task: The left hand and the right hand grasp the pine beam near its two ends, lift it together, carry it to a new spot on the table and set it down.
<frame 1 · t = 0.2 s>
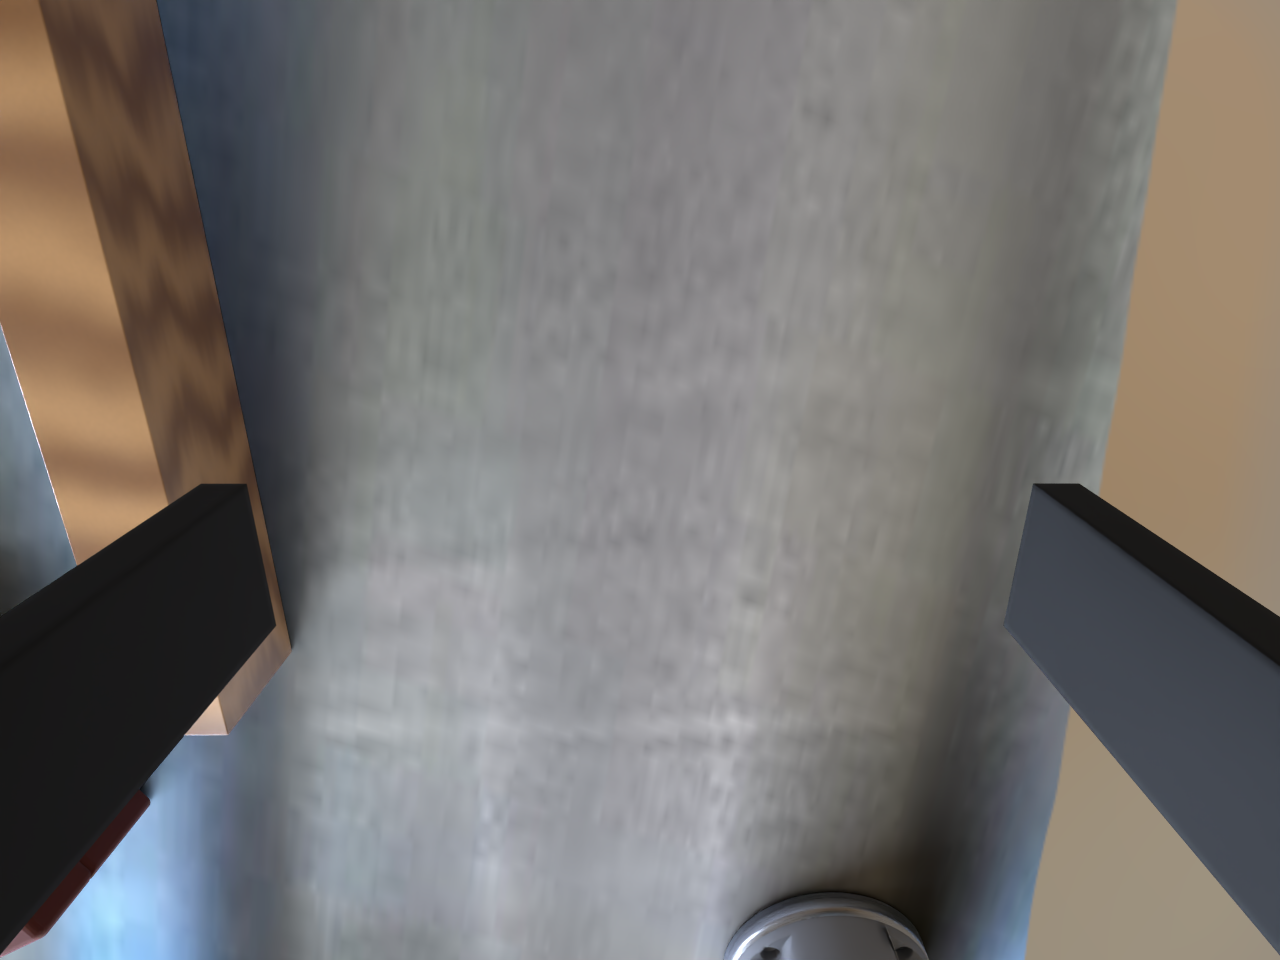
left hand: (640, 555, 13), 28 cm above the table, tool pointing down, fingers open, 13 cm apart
beam: (118, 80, 35), on the table
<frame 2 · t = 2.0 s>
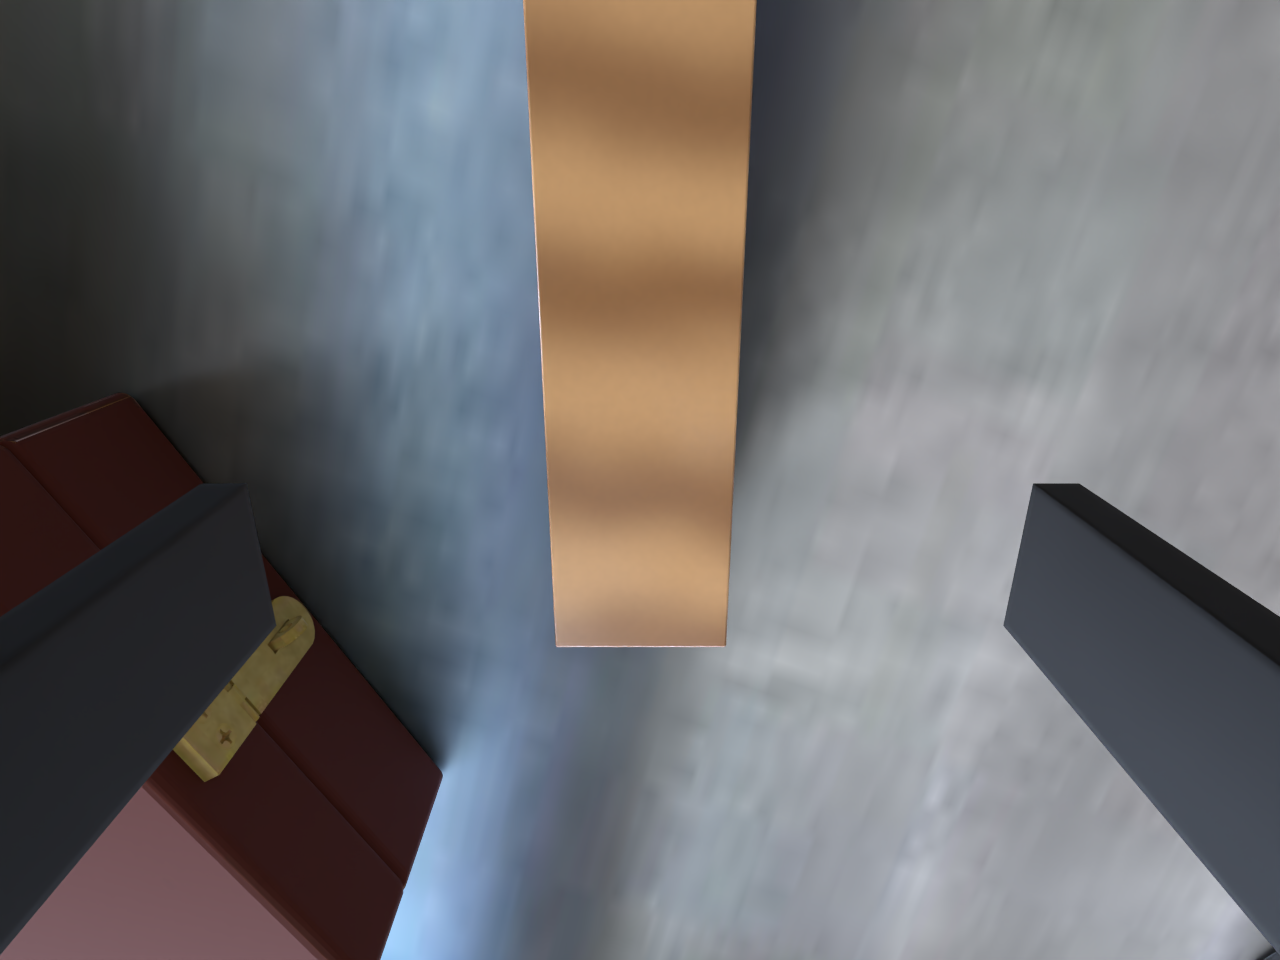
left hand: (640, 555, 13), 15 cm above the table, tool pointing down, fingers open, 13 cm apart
box: (180, 668, 32), on the table
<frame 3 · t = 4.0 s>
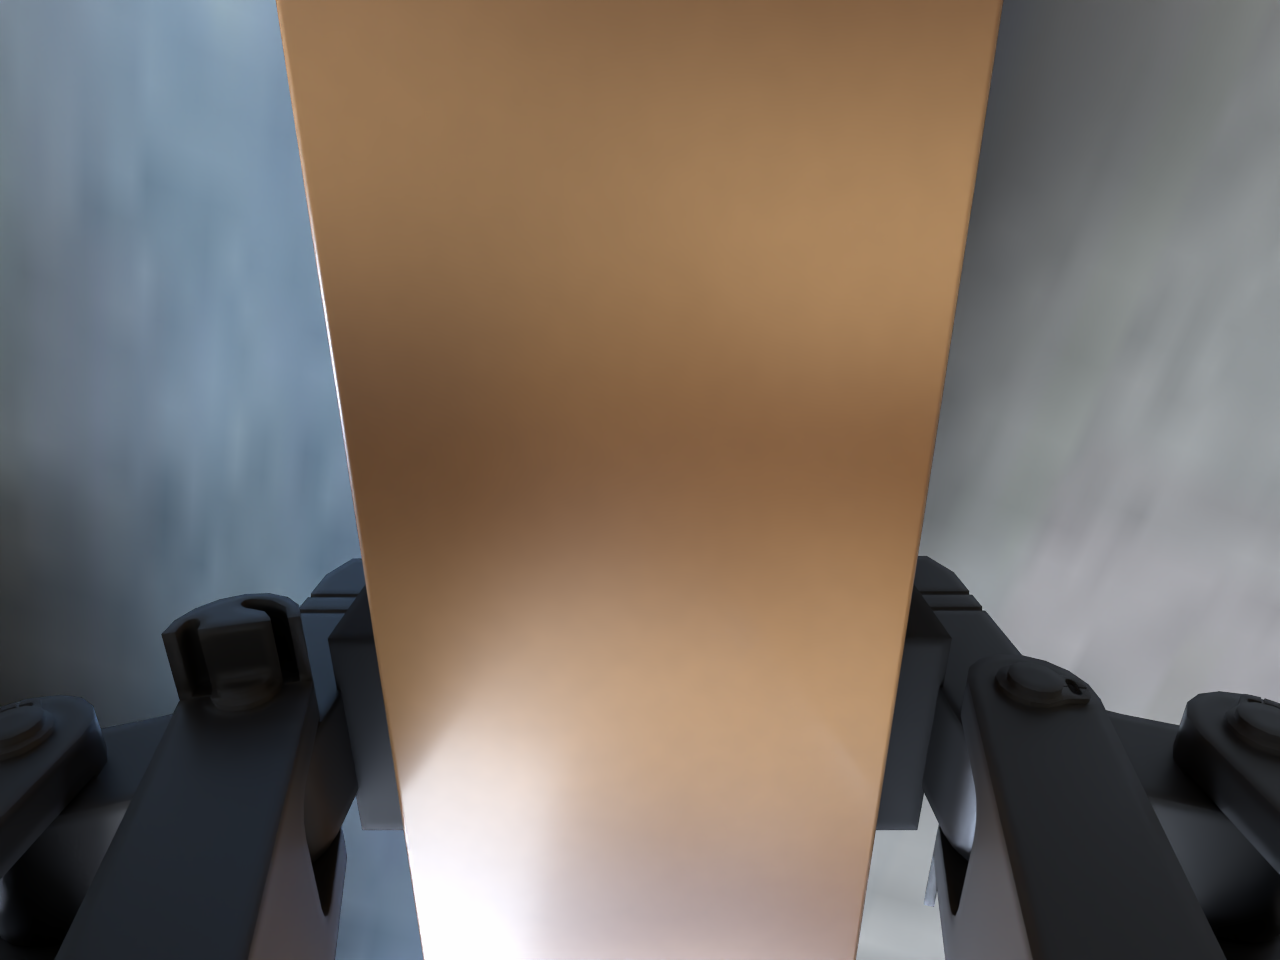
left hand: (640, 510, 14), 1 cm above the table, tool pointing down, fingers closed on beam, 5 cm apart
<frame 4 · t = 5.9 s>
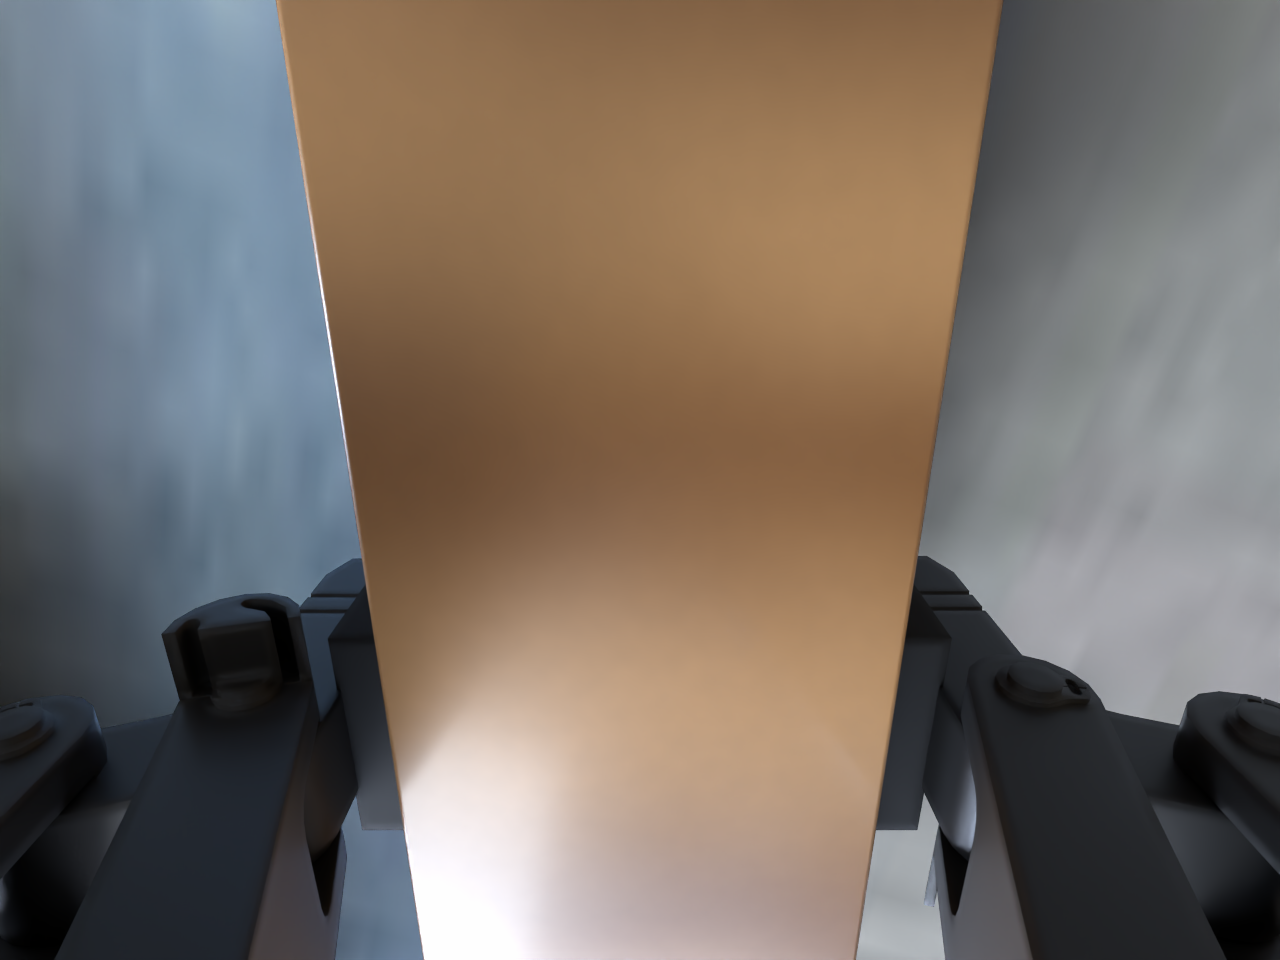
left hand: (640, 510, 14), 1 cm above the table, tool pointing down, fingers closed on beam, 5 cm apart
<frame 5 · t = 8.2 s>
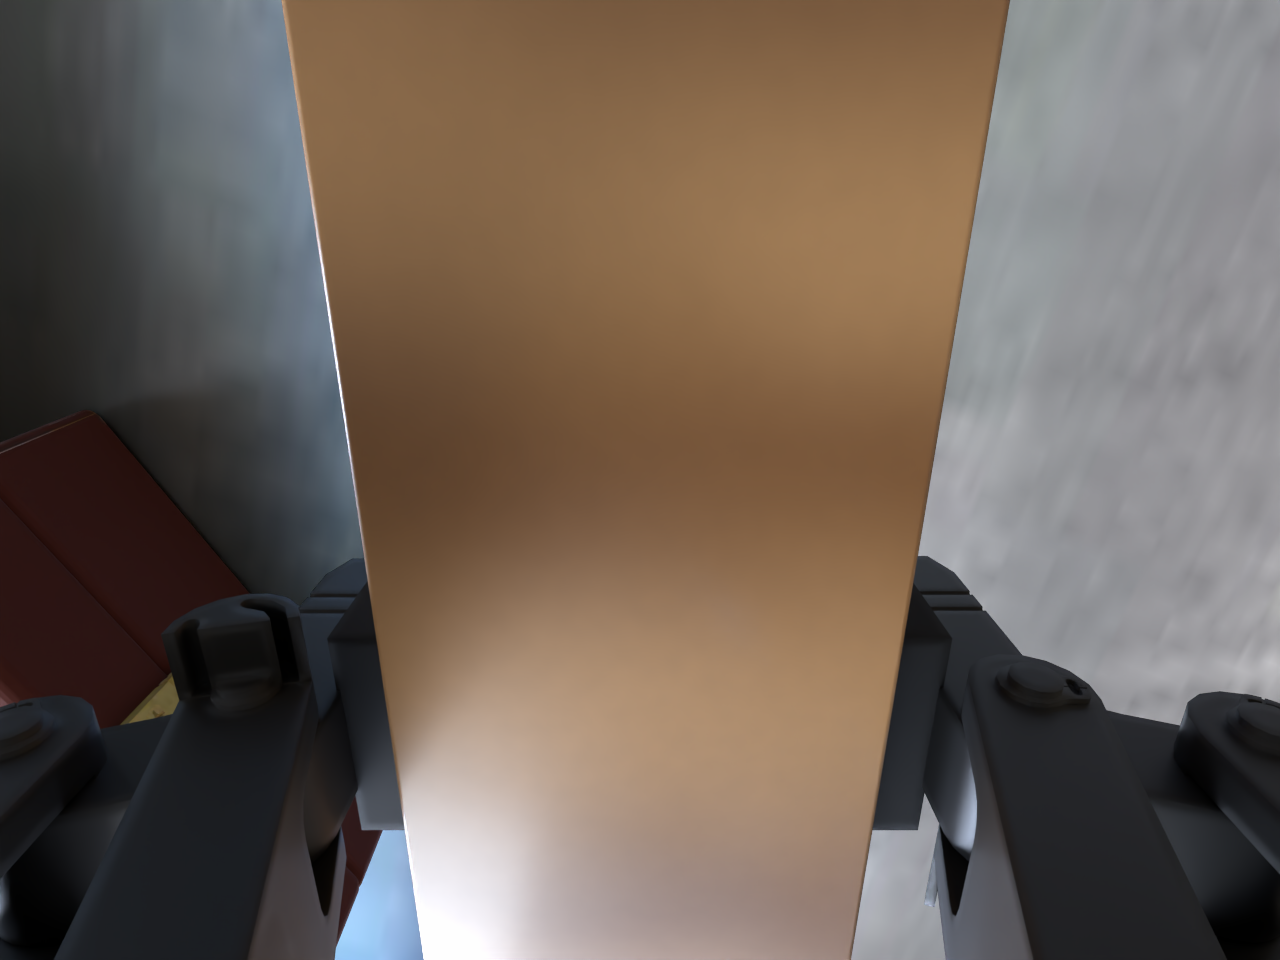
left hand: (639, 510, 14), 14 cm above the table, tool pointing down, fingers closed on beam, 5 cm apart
box: (147, 672, 33), on the table
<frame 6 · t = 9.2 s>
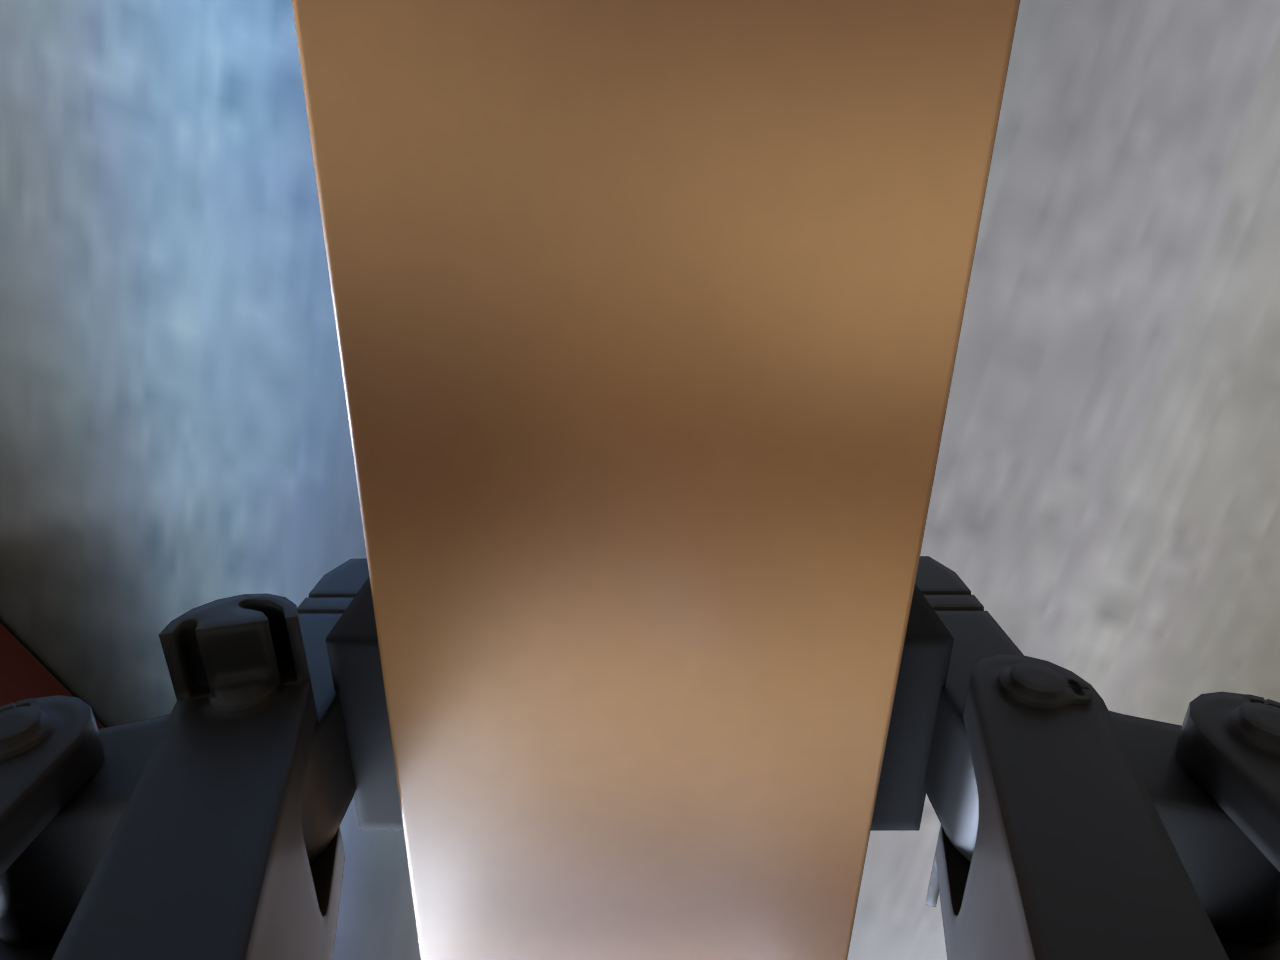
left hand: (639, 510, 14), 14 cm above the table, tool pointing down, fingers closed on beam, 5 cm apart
box: (0, 779, 35), on the table
when the left hand's fingers open (2 cm above the table, at t = 12.5 s): beam stays where it is, on the table.
when the right hand's fingers open (1 cm above the table, at t = 12.5 s): beam stays where it is, on the table.
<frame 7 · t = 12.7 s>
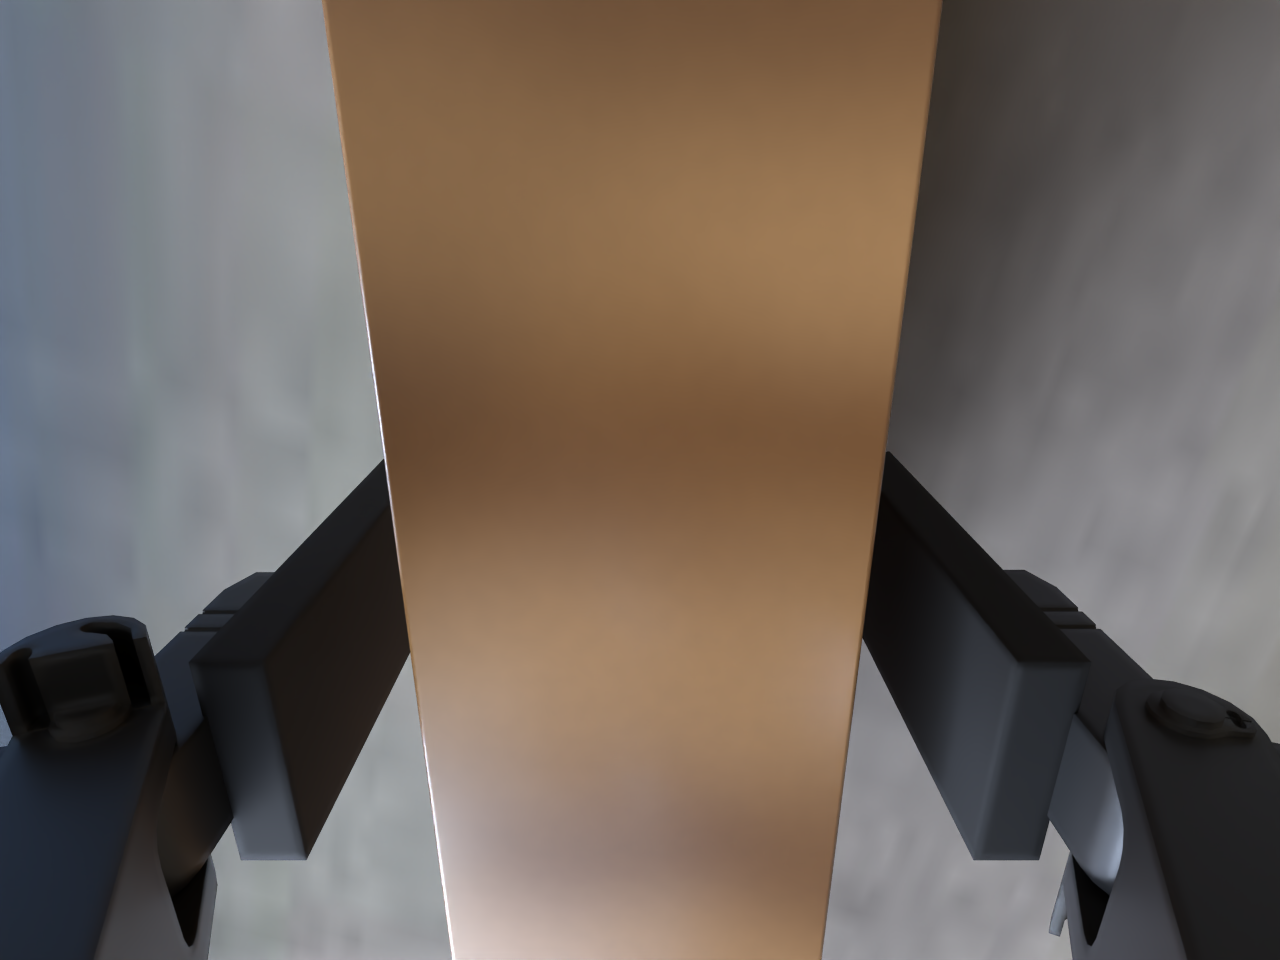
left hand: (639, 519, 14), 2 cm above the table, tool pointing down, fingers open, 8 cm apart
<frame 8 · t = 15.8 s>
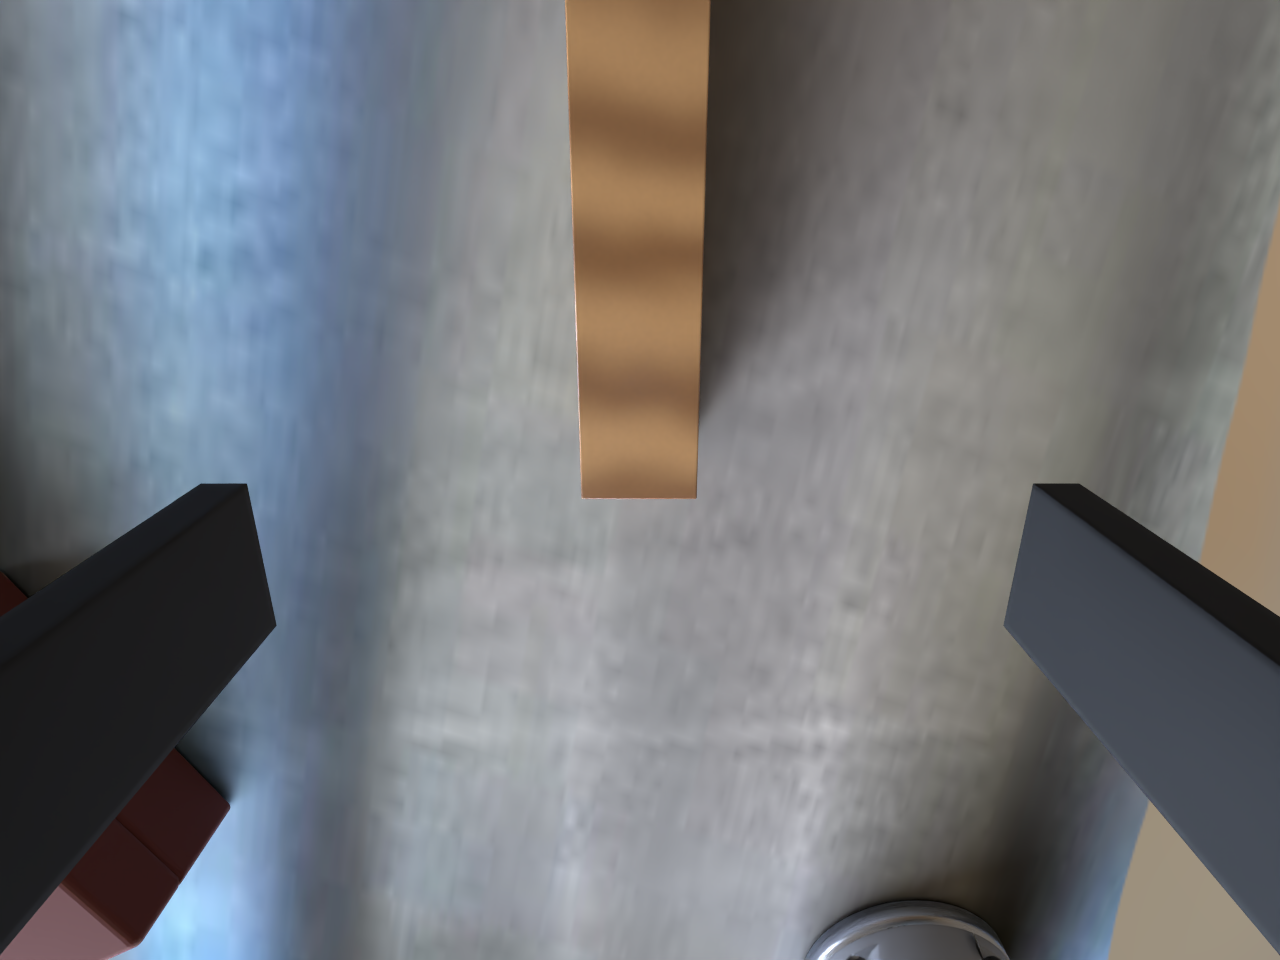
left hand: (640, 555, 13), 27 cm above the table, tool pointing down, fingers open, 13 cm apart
box: (46, 735, 48), on the table
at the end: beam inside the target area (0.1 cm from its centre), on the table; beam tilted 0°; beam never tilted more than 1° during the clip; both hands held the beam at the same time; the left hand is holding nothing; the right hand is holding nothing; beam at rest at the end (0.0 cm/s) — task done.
